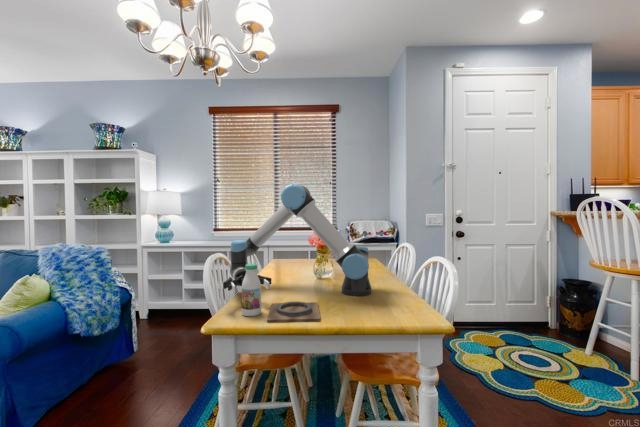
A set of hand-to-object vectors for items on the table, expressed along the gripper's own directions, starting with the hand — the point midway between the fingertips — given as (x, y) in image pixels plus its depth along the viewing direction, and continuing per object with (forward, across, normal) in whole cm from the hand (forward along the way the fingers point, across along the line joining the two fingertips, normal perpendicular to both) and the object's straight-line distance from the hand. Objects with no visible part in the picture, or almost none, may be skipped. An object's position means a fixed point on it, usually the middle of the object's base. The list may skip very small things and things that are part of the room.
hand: (251, 287), depth 126 cm
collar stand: (+5, -16, -11) cm, 20 cm away
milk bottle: (-1, 0, -11) cm, 11 cm away
